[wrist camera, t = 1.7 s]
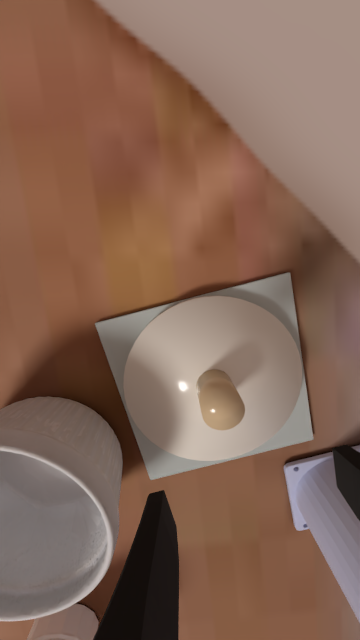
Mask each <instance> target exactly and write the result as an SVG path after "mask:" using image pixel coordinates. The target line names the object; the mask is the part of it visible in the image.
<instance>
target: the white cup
mask: <svg viewBox="0 0 360 640" xmlns="http://www.w3.org/2000/svg"><path fill="white" fill-rule="evenodd" d="M98 624H99V621H98V619H97V617H96V615H95V613H94V612H93V611H92V610H90V609H89V608H87V607H86V606H84V605H81V604H77V603H75V604H74V605H72V606H70V607H68V608H66V609H64V610H61V611H59V612H57V613H54V614H51V615H47V616H44V617H39V618H36V619H35V621H34V623H33V626H32V628H31V631H30V633H29V635H28V638H27V640H93V638H94V636H95V634H96V632H97V630H98Z"/></svg>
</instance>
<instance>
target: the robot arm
mask: <svg viewBox="0 0 360 640" xmlns="http://www.w3.org/2000/svg"><path fill="white" fill-rule="evenodd" d="M332 450H333V452H330V453H326V454H322V455H317V456H313V457H309V458H305V459H301V460H297V461H293V462H289V463H286V464H285V466H284V472H285V478H286V483H287V489H288V494H289V500H290V505H291V511H292V516H293V522H294V525H295V527H296V529H297V530H299V531H301V530H305V529H310V531H311V533H312V535H313V537H314V539H315V540H316V542H317V544H318V546H319V548H320V550H321V552H322V553H323V555H324V557H325V559H326V561H327V563H328V565H329V567H330V568H331V570H332V572H333V574H334V576H335V578H336V580H337V581H338V583H339V585H340V587H341V589H342V591H343V593H344V594H345V596H346V598H347V600H348V602H349V604H350V606H351V608H352V609H353V611H354V613H355V615H356V617H357V619H358V621H359V622H360V445H358V446H354V447H350V446H348V445H343V446H339V447H335V448H332ZM178 612H179V556H178V542H177V529H176V524H175V521H174V518H173V515H172V512H171V509H170V506H169V504H168V501H167V498H166V495H165V492H164V490H163V491H159V492H155V493H150V494H149V496H148V498H147V502H146V505H145V508H144V511H143V515H142V518H141V521H140V524H139V527H138V530H137V532H136V535H135V538H134V541H133V544H132V546H131V549H130V552H129V555H128V557H127V560H126V563H125V565H124V568H123V571H122V573H121V575H120V578H119V580H118V583H117V585H116V588H115V590H114V593H113V595H112V598H111V600H110V602H109V605H108V607H107V609H106V612H105V614H104V616H103V619H102V621H101V623H100V625H99V627H98V630H97V632H96V634H95V636H94V638H93V640H178Z"/></svg>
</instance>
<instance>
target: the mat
mask: <svg viewBox="0 0 360 640" xmlns="http://www.w3.org/2000/svg"><path fill="white" fill-rule="evenodd" d="M211 295H221V296H230V297H235V298H240V299H243V300H246V301H248V302H251V303H254V304H256V305H258V306H260V307H262V308H263V309H265V310H267V311H268V312H270V313H271V314H272V315H274V316H275V317H276V318H277V319H278V320H279V321H280V322H281V323H282V324H283V325H284V326H285V327H286V329H287V330H288V331H289V333H290V334H291V336H292V338H293V339H294V341H295V343H296V346H297V348H298V351H299V354H300V359H301V364H302V385H301V390H300V394H299V397H298V400H297V403H296V406H295V408H294V410H293V412H292V414H291V415H290V417H289V418H288V420H287V421H286V423H285V424H284V425H283V426H282V428H281V429H280V430H279V431H278V432H277V433H276V434H275V435H274V436H273V437H272V438H270V439H269V440H268V441H266V442H265V443H264V444H262V445H261V446H259V447H257V448H256V449H254V450H252V451H250V452H248V453H245V454H243V455H240V456H237V457H233V458H229V459H224V460H216V461H199V460H191V459H187V458H183V457H179V456H176V455H174V454H171V453H169V452H167V451H165V450H163V449H161V448H160V447H158V446H157V445H155V444H154V443H153V442H151V441H150V440H149V439H148V438H147V437H146V436H145V435H144V434H143V433H142V432H141V431H140V429H139V428H138V427H137V425H136V424H135V422H134V421H133V419H132V417H131V415H130V413H129V410H128V408H127V404H126V401H125V396H124V388H123V381H124V371H125V365H126V362H127V359H128V356H129V353H130V351H131V349H132V347H133V345H134V343H135V341H136V339H137V338H138V336H139V335H140V333H141V332H142V330H143V329H144V328H145V327H146V326H147V325H148V324H149V322H150V321H152V320H153V319H154V318H155V317H156V316H157V315H158V314H160V313H161V312H163V311H164V310H166V309H168V308H169V307H171V306H173V305H175V304H177V303H179V302H182V301H185V300H188V299H191V298H188V299H184V300H180V301H176V302H173V303H169V304H165V305H161V306H157V307H154V308H150V309H146V310H142V311H138V312H134V313H131V314H127V315H123V316H119V317H115V318H112V319H108V320H104V321H100V322H96V323H95V326H96V328H97V331H98V334H99V337H100V340H101V342H102V345H103V348H104V351H105V354H106V357H107V359H108V362H109V365H110V368H111V371H112V373H113V376H114V379H115V382H116V385H117V387H118V390H119V393H120V396H121V399H122V401H123V404H124V407H125V410H126V413H127V415H128V418H129V421H130V424H131V427H132V429H133V432H134V435H135V438H136V441H137V443H138V446H139V449H140V452H141V455H142V457H143V460H144V463H145V466H146V469H147V471H148V474H149V477H150V480H153V479H157V478H161V477H165V476H169V475H173V474H177V473H181V472H185V471H189V470H193V469H197V468H201V467H205V466H209V465H213V464H217V463H221V462H225V461H229V460H233V459H237V458H241V457H245V456H249V455H253V454H257V453H261V452H265V451H269V450H273V449H277V448H281V447H285V446H289V445H293V444H297V443H301V442H305V441H309V440H313V433H312V426H311V418H310V411H309V404H308V397H307V390H306V383H305V375H304V368H303V361H302V354H301V347H300V340H299V332H298V325H297V318H296V311H295V304H294V297H293V289H292V282H291V275H290V272H287V273H283V274H279V275H276V276H272V277H268V278H264V279H260V280H257V281H253V282H249V283H245V284H241V285H237V286H234V287H230V288H226V289H222V290H218V291H215V292H211V293H207V294H203V295H199V296H195V297H192V298H196V297H201V296H211Z"/></svg>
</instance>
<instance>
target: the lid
mask: <svg viewBox="0 0 360 640" xmlns="http://www.w3.org/2000/svg"><path fill="white" fill-rule="evenodd" d="M301 385H302V364H301V359H300V354H299V351H298V348H297V346H296V343H295V341H294V339H293V338H292V336H291V334H290V333H289V331H288V330H287V329H286V327H285V326H284V325H283V324H282V323H281V322H280V321H279V320H278V319H277V318H276V317H275V316H274V315H272V314H271V313H270V312H268V311H267V310H265V309H263V308H262V307H260V306H258V305H256V304H254V303H251V302H248V301H246V300H243V299H240V298H235V297H230V296H221V295H211V296H201V297H196V298H191V299H188V300H185V301H182V302H179V303H177V304H175V305H173V306H171V307H169V308H168V309H166V310H164V311H163V312H161V313H160V314H158V315H157V316H156V317H155V318H154V319H153V320H152V321H150V322H149V324H148V325H147V326H146V327H145V328H144V329H143V330H142V332H141V333H140V335H139V336H138V338H137V339H136V341H135V343H134V345H133V347H132V349H131V351H130V353H129V356H128V359H127V362H126V365H125V371H124V381H123V388H124V396H125V401H126V404H127V408H128V410H129V413H130V415H131V417H132V419H133V421H134V422H135V424H136V425H137V427H138V428H139V429H140V431H141V432H142V433H143V434H144V435H145V436H146V437H147V438H148V439H149V440H150V441H151V442H153V443H154V444H155V445H157V446H158V447H160V448H161V449H163V450H165V451H167V452H169V453H171V454H174V455H176V456H179V457H183V458H187V459H191V460H199V461H216V460H224V459H229V458H233V457H237V456H240V455H243V454H245V453H248V452H250V451H252V450H254V449H256V448H257V447H259V446H261V445H262V444H264V443H265V442H266V441H268V440H269V439H270V438H272V437H273V436H274V435H275V434H276V433H277V432H278V431H279V430H280V429H281V428H282V426H283V425H284V424H285V423H286V421H287V420H288V418H289V417H290V415H291V414H292V412H293V410H294V408H295V406H296V403H297V400H298V397H299V394H300V390H301Z"/></svg>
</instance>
